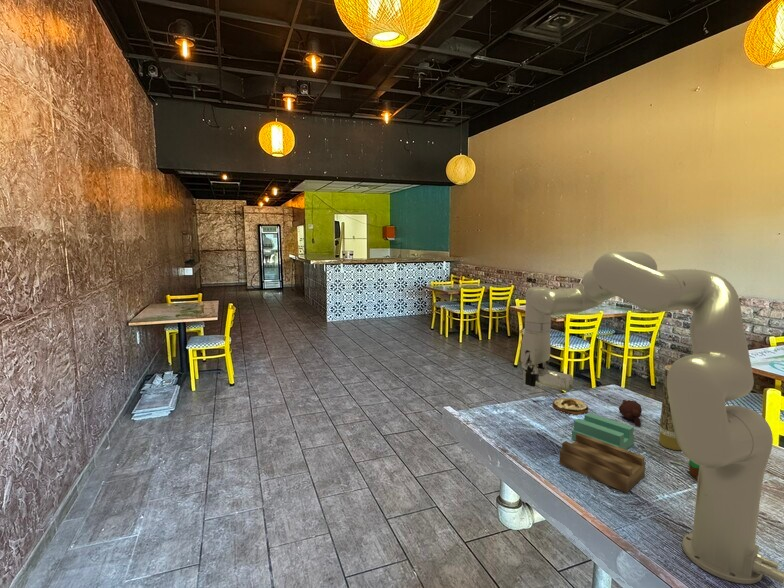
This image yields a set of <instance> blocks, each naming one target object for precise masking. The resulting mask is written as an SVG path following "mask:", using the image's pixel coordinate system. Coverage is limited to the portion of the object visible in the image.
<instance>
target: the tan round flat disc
mask: <svg viewBox="0 0 784 588" xmlns="http://www.w3.org/2000/svg"><path fill="white" fill-rule="evenodd" d="M551 408H554V409H555V408H556V409H555V410H557V409H558V410H559V411H558V410H557V411H558V412H560V411H562V412H565V413H564V414H566V413H569V414H568V415H570V414H573V415H572V416H579V415H578V414H580V415H585V414H587V412H588V411H589V407H588V405H587V404H586V403H585V402H584V401H583V400H581V399H577V398H572V397H571V398H570V397H568V398H567V397H566V398H564V397H558V398H554V400H553V402H552V407H551ZM562 412H561V413H562ZM584 413H585V414H584Z"/></svg>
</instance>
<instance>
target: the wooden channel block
mask: <svg viewBox="0 0 784 588" xmlns="http://www.w3.org/2000/svg"><path fill="white" fill-rule="evenodd" d="M561 444H562V445H561V449H560V450H559V462H558V463H559V465H561V466H563V467H566V468H568V469H570V470H573V471H575V472H577V473H580V474H581V475H583V476H587V477H589V478H590V479H594V480H596V481H597V482H600V483H602V484H605V485H607V486H609V487H611V488H614V489H616V490H618V491H621V492H624V493H625V494H627V493H629V491H631V489H633V488H634V487H635V486H636V485H637V484H638V483H639V482H640V481H641V480H642V479H643V478H644V477H646V476H645V475H646V464H647V463H646V461H645V459H646V457H645V456H644V455H641V454H639V453H635V452H633V451H631V450H628V449H627V450H625V449H622V448H619V447H617V446H614V445H611V444H608V443H605V442H603V441H600V440H597V439H594V438H592V437H589V436H586V435H583V434H580V433H578V434H576V441H572V443H571V442H570V441H566V440H565V441H563V442H562V443H561Z"/></svg>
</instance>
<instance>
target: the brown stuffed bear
mask: <svg viewBox="0 0 784 588" xmlns="http://www.w3.org/2000/svg"><path fill="white" fill-rule="evenodd" d="M618 411H619V413H620V414H621V415H622V416H623V417H624V418H625V419H627V420H630V421H632V420H633V421H634V423H635V424H636V426H638V427H641V426H642V422H641V420H640V419H639V418H640V417H642V411H643V409H642V405H641V404H640V403H638V401H636V400H629V399H628V400H626V399H623V400H622V403H621V404H620V405H619V407H618Z"/></svg>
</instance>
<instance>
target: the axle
mask: <svg viewBox="0 0 784 588" xmlns="http://www.w3.org/2000/svg"><path fill="white" fill-rule="evenodd" d="M529 367H531V369H532V366H531V365H529ZM534 374H536V383H535V385H539V386H544V387H548V388H552V389H555V390H560V391H564V392H570V391H571V390H572V389H573V387H574V377H573V375H572V374H568V373H563V372H558V371H555V370H549V369H541V368H537V367H536V368H535V373H534ZM525 377H526V373H525V370H524V369H523V370H522V380H523V381H524V382H525Z"/></svg>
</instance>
